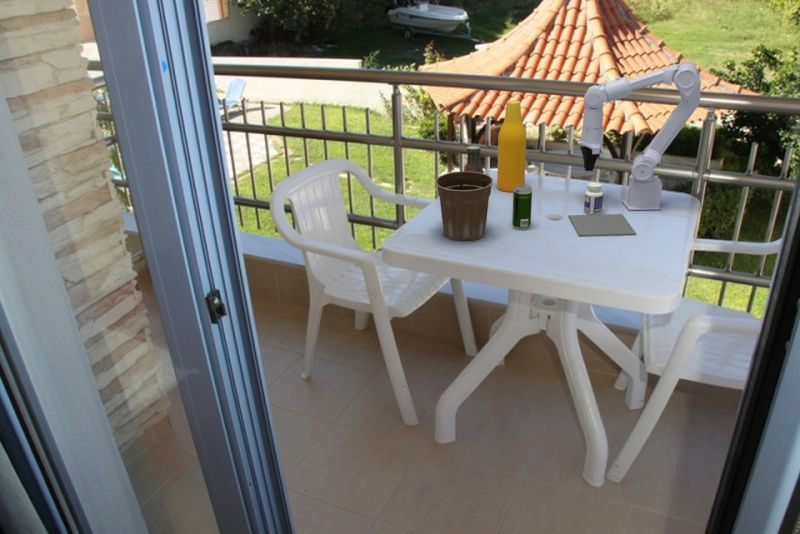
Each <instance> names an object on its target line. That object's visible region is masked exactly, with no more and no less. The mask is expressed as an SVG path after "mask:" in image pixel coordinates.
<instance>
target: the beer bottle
mask: <svg viewBox="0 0 800 534" xmlns="http://www.w3.org/2000/svg"><path fill="white" fill-rule="evenodd" d="M521 109H522V108H521V101H519V100H508V101H506V107H505V113H504V114H505V115H504V120H503V123H502V125H501V127H500V130H499V132H498V137H497V139H498V141H497V172H496V173H497V174H496V175H497V177H496V187H497V189H498V190H499V191H502V192H504V191H505V192H506V193H513V190H514V187H515V186H517V185H526V175H525V174H526V156H527V132H526V127H525V126H524V123H523V121H522V110H521Z"/></svg>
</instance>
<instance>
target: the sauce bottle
mask: <svg viewBox="0 0 800 534" xmlns="http://www.w3.org/2000/svg"><path fill="white" fill-rule="evenodd" d="M466 153H467V159H466V161H467V162H466V163H465V165H464V168H463V171H470V172H479V173H484V172H485V171H484V170H483V167H482V164H481V159H480V158H481V147H480V146H478V145H470V146H467V147H466ZM484 174H485V173H484Z"/></svg>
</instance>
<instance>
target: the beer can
mask: <svg viewBox="0 0 800 534" xmlns="http://www.w3.org/2000/svg"><path fill="white" fill-rule="evenodd" d="M512 193H513V194H512V221H511V224H512V227H513V228H514V229H516V230H521V229H522V230H523V229H524V230H527V229H529V228H531V225H532V205H533V190H532V186H530V185H527V184H525V185H517V186H515V187H514V190H513V192H512Z"/></svg>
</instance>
